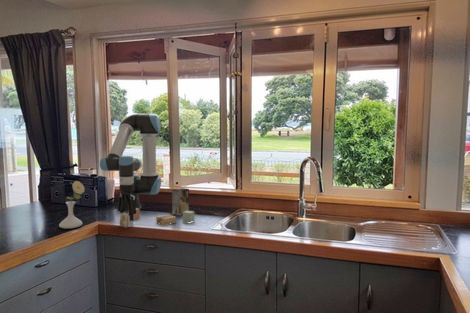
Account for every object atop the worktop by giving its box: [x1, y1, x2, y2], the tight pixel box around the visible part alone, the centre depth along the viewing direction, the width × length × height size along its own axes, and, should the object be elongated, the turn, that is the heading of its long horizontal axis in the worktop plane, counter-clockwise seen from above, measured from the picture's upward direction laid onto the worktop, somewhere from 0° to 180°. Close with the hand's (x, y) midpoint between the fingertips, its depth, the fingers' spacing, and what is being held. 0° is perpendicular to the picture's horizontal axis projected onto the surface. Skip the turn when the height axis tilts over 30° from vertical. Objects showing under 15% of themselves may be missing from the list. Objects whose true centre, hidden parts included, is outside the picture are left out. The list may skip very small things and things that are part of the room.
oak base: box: [155, 213, 177, 226], centre depth 187 cm, size 8×8×4 cm
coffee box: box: [171, 187, 190, 216], centre depth 209 cm, size 9×6×16 cm
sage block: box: [182, 210, 195, 222], centre depth 190 cm, size 5×5×6 cm
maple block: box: [119, 213, 129, 228], centre depth 179 cm, size 5×5×6 cm
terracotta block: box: [127, 208, 141, 221], centre depth 195 cm, size 5×5×6 cm
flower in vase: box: [58, 180, 86, 230], centre depth 174 cm, size 13×11×25 cm
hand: (126, 225), depth 179 cm, fingers open, 6 cm apart
